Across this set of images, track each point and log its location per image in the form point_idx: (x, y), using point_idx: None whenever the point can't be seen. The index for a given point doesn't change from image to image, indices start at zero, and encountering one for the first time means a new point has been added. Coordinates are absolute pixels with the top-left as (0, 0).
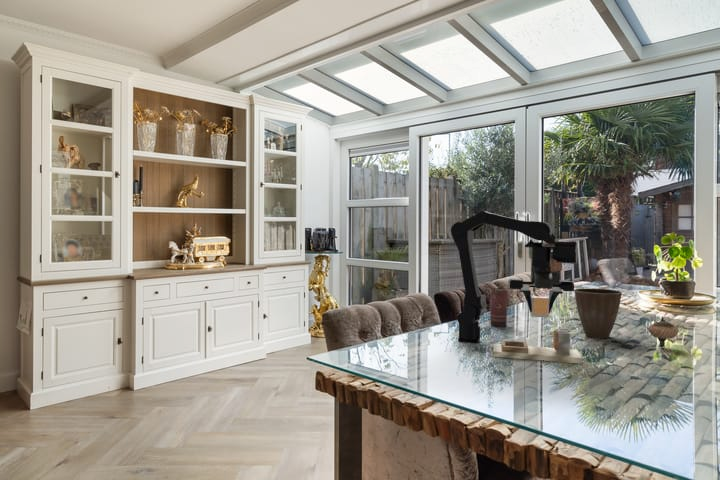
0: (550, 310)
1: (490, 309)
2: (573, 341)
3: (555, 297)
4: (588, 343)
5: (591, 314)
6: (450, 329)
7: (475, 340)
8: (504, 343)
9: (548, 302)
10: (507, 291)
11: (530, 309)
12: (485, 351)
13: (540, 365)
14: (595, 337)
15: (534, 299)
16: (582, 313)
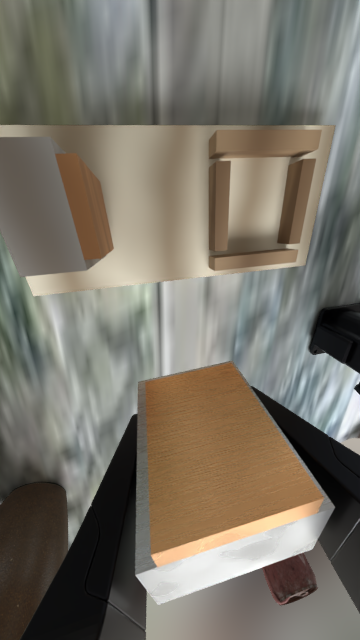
0: (127, 429)
1: None
2: (83, 432)
3: (37, 629)
4: (41, 432)
5: (8, 568)
6: (344, 402)
7: (328, 316)
8: (298, 200)
9: (143, 496)
10: (273, 595)
11: (261, 396)
12: (324, 212)
13: (154, 13)
14: (36, 483)
15: (303, 475)
16: (45, 565)
